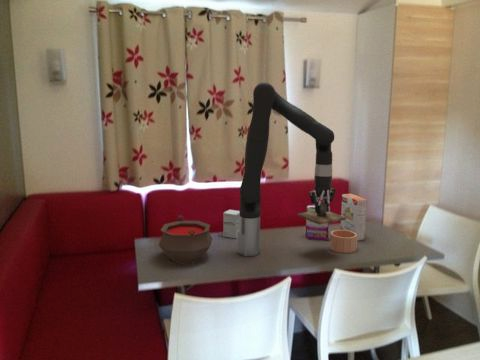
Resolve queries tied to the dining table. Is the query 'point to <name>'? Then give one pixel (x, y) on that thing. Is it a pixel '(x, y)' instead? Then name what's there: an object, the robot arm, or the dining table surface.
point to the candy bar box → (316, 227)
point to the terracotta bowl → (343, 241)
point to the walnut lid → (321, 215)
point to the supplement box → (231, 223)
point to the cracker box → (354, 214)
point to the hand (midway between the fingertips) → (321, 212)
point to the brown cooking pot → (185, 240)
